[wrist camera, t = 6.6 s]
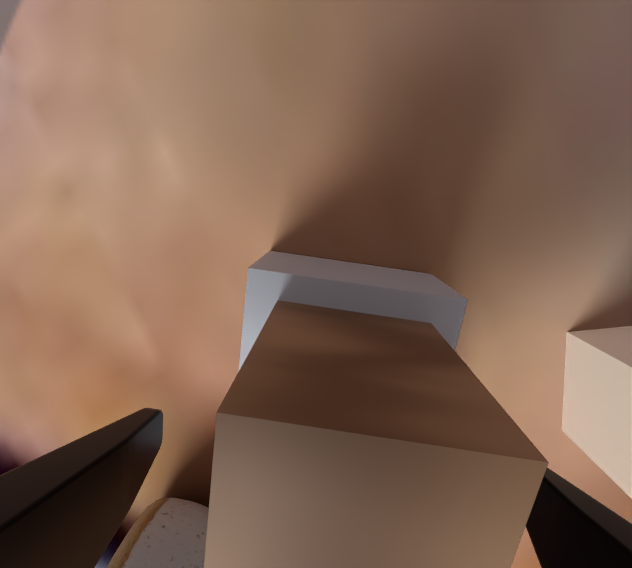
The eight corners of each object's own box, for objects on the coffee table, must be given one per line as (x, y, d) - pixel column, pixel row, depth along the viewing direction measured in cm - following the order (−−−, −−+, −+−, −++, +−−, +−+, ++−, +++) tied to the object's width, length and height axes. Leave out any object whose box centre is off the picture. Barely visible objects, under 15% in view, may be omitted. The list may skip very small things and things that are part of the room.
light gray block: (430, 273, 15) (467, 299, 11) (399, 415, 16) (421, 482, 12) (270, 250, 15) (247, 267, 11) (254, 394, 16) (230, 454, 12)
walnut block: (431, 323, 11) (548, 462, 5) (400, 454, 12) (466, 689, 6) (277, 300, 11) (216, 412, 5) (261, 433, 12) (197, 648, 6)
